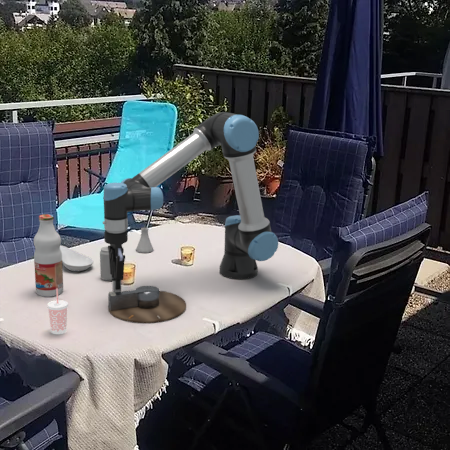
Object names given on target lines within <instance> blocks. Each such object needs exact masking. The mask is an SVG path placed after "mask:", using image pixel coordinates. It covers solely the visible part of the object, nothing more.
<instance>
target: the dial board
mask: <svg viewBox="0 0 450 450" xmlns="http://www.w3.org/2000/svg"><path fill="white" fill-rule="evenodd" d="M107 307H108V309H107V310H108V312H109V313H110V315H111V316H113V317H114V318H116V319H118V320H120V321H124V322H128V323H134V324H156V323H162V322H168V321H172V320H174V319H176V318H178V317H180V316H181V315H183V314H185V311H186V310H187V302H186V301H185V299H184V298H183V297H181V296H179V295H178V294H175V293H172V292H169V291H163V290H159V305H158V306H157V307H154V308H140V307H131V308H124V309H117V310H110V309H109V304H108V306H107Z"/></svg>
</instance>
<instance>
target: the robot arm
mask: <svg viewBox="0 0 450 450" xmlns="http://www.w3.org/2000/svg"><path fill="white" fill-rule="evenodd" d="M259 136H260V134H259V129H258V125H257V124H256V123H255V121H254V120H252V118H249V117H248V116H245V115H243V114H236V113H232V112H227V111H222V112H217V113H215V114H213V115H212V116H210V117H208V118H207V119H206V120H204V121H203V122H201V123H200V124H198V125H197V126H196V127H195V128H193V132H192V133H191V134H190V135H189V136H187V137H186V138H184V139H183V140H182V141H180V142H179V143H178V144H177V145H175V146H174V147H172V148H171V149H169V151H167V152H166V153H164V154H163V155H162V156H160V157H158V159H156V160H155V161H153V162H152V163H151V164H150V165H148V166H147V167H145V168H144V169H143V170H141V171H140V172H138V173H137V174H136V175H134V176H133V177H131V178H130V177H128V178H124V179H122V180H121V182H109V183H107V184H105V185H104V186H103V216H104V217H103V221H102V225H104V228H103V229H104V231H103V233H104V238H103V239H104V243H106V244H108V245H107V247H108V251H109V263H110V274H111V275H112V278H113V279H112V283H111V286H112V287H111V289H112V291H114V292H115V293H116V292H122V281H123V280H124V273H125V271H124V270H125V262H126V261H125V260H126V255H125V254H124V253H125V252H124V247H123V245H124V244H125V243H127V242H128V236H129V235H128V227H129V225H128V221H129V220H128V219H129V218H128V213H129V212H133V213H134V212H141V211H142V212H145V211H154V210H160V209H162V207H163V205H164V194H163V190H162V189H161V188H160V187H159V185H160V184H162V183H164V182H165V181H166V180H167V179H169V178H170V177H171V176H173V175H174V174H176V173H177V172H178V171H180V170H182V168H183V167H186V166H187V165H188V164H189V163H190V162H192V161H193V160H195V159H196V158H197V157H198V156H200V155H202V154H203V153H204V152H205V151H209V152H210V151H211V150H213V149H214V148H216V147H219V146H221V149H222V155H223V157H224V158H225V159H226V160H228V162H229V168H230V173H231V177H232V183H233V187H234V192H235V198H236V201H237V202H236V203H237V206H238V212H239V215H237V214H236V215H230V216H228V217H226V218H225V222H224V223H225V224H224V251H223V252H224V253H223V256H222V259H221V261H220V265H219V268H218V269H219V274H220V275H221V276H222V277H224V278H229V279H232V280H233V279H234V280H246V279H253V278H254V277H256V276H257V275H258V274H259V272H258V271H259V268H258V263H257V262H265V261H267V260H269V259H271V258H272V257H274V255H275V253H276V252H277V251H278V249H279V248H278V247H279V238H278V236H277V235H276V233H275V232H273V231H272V229H271V228H272V227H271V222H270V220H269V219H268V218H267V217H265V213H264V209H263V202H262V198H261V197H262V196H261V192H260V186H259V181H258V176H257V170H256V166H255V161H254V160H255V159H254V154H255V153H256V152H257V146H256V145H257V142H258V141H259V138H260V137H259Z"/></svg>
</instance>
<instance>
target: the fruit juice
mask: <svg viewBox="0 0 450 450" xmlns="http://www.w3.org/2000/svg"><path fill="white" fill-rule="evenodd" d="M38 222H39V227H38V230H37V232H36V234H35V235H34V237H33V244H34V248H35V250H34V253H33V260H34V261H33V262H34V279H35V280H34V281H35V282H34V283H35V292H36V294H37V295H38V296H40V297H57V295H56V288H58V296H59V295H61V294H62V293H63V292H64V275H63V274H64V273H63V263H62V253H61V250H60V245H61V243H62V240H61V236H60V234H59V233H58V231H56V228H55V225H54V215H53V214H50V213H47V214H46V213H45V214H40V215H38Z"/></svg>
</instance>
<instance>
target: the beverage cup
mask: <svg viewBox="0 0 450 450" xmlns="http://www.w3.org/2000/svg"><path fill="white" fill-rule="evenodd" d="M46 305H47V309H48V316H49V325H50V326H49V327H50V333H51V334H53V335H62V334H65V333H66V332H67V328H68V327H67V325H68V324H67V323H68V320H67V319H68V318H67V317H68V307H69V302H68V301H67V300H65V299H64V300H63V299H62V300H61V299H59V295H58V288H56V300H52V301H49V302H48V303H46Z"/></svg>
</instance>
